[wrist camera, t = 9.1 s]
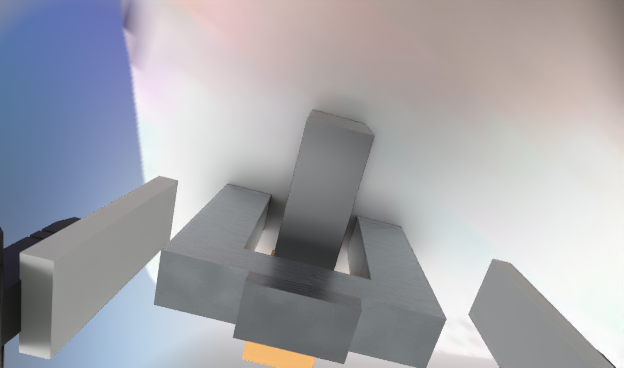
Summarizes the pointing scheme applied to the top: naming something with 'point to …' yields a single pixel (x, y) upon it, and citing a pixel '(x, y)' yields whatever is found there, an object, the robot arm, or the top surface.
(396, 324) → the housing
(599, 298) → the top surface
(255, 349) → the grey and orange block
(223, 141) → the top surface
